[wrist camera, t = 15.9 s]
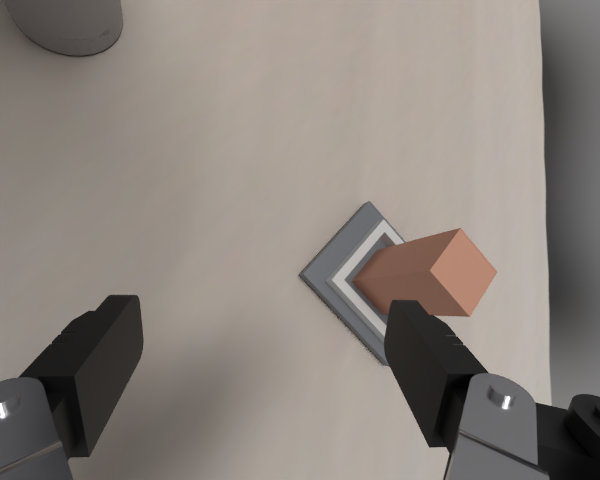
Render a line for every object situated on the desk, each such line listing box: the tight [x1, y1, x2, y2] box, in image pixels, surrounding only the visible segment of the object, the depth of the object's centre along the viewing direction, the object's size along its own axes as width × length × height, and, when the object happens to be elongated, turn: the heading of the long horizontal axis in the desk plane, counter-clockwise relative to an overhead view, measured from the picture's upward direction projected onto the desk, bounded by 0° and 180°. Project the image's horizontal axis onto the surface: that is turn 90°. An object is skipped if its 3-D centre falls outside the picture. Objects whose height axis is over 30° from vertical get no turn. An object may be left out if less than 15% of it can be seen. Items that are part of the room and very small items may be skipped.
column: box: [352, 228, 497, 317], centre depth 33 cm, size 5×5×12 cm
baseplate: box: [299, 201, 405, 367], centre depth 39 cm, size 14×12×3 cm
